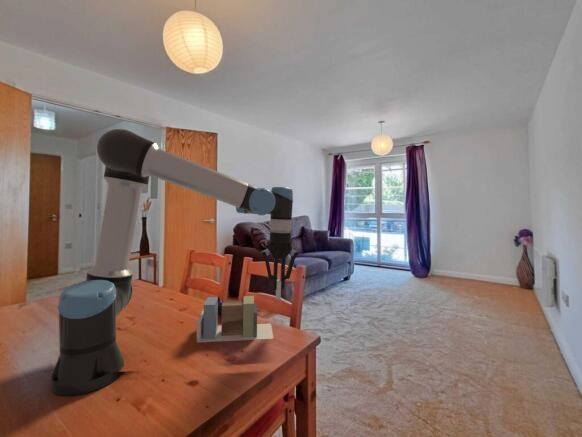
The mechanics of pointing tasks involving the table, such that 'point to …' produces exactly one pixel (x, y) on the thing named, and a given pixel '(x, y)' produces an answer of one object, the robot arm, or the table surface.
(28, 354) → the table surface
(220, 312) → the character figurine
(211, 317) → the book
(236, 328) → the book
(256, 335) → the bookend
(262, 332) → the white book rack
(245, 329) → the book
